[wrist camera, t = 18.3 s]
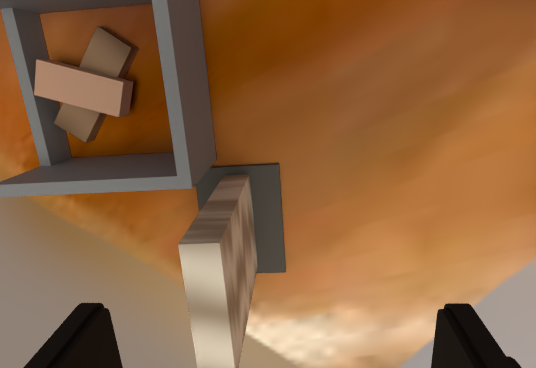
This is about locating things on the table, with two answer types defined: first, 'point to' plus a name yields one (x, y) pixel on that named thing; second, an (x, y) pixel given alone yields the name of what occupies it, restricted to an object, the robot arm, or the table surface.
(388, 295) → the table surface
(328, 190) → the table surface
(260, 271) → the mat
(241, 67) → the table surface
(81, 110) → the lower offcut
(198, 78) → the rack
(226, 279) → the tall board
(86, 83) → the upper offcut
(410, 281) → the table surface
